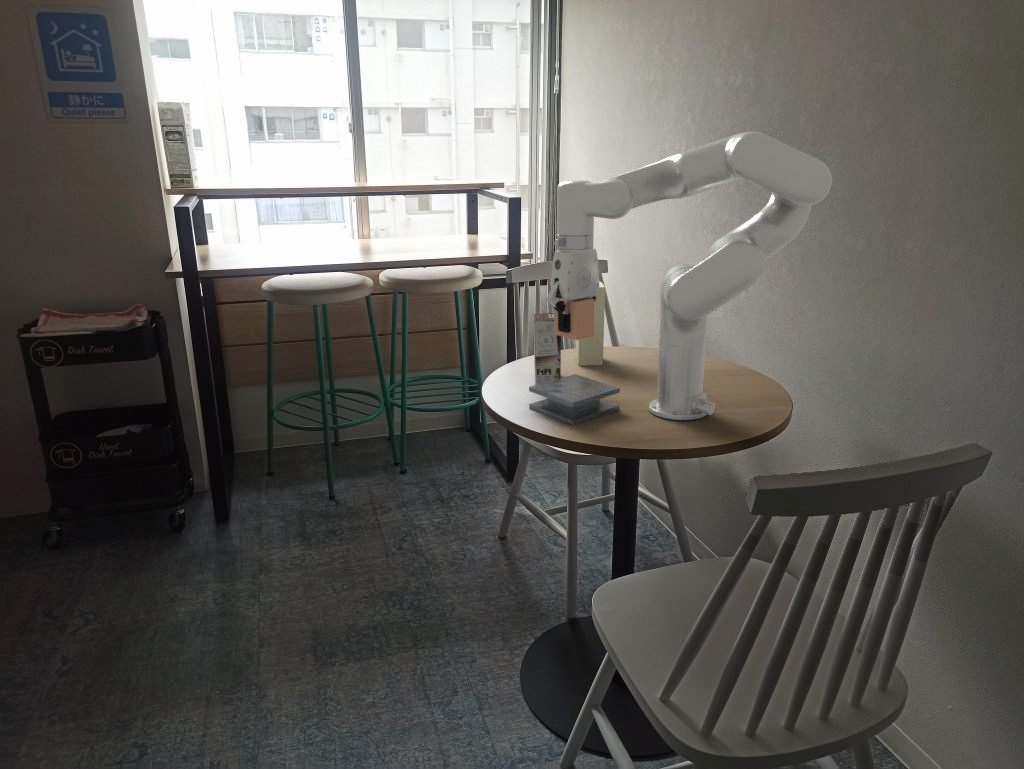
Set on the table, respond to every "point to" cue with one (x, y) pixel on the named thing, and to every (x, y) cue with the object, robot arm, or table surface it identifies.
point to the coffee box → (546, 349)
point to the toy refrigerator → (592, 347)
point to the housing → (578, 319)
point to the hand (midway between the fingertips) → (573, 328)
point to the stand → (574, 399)
